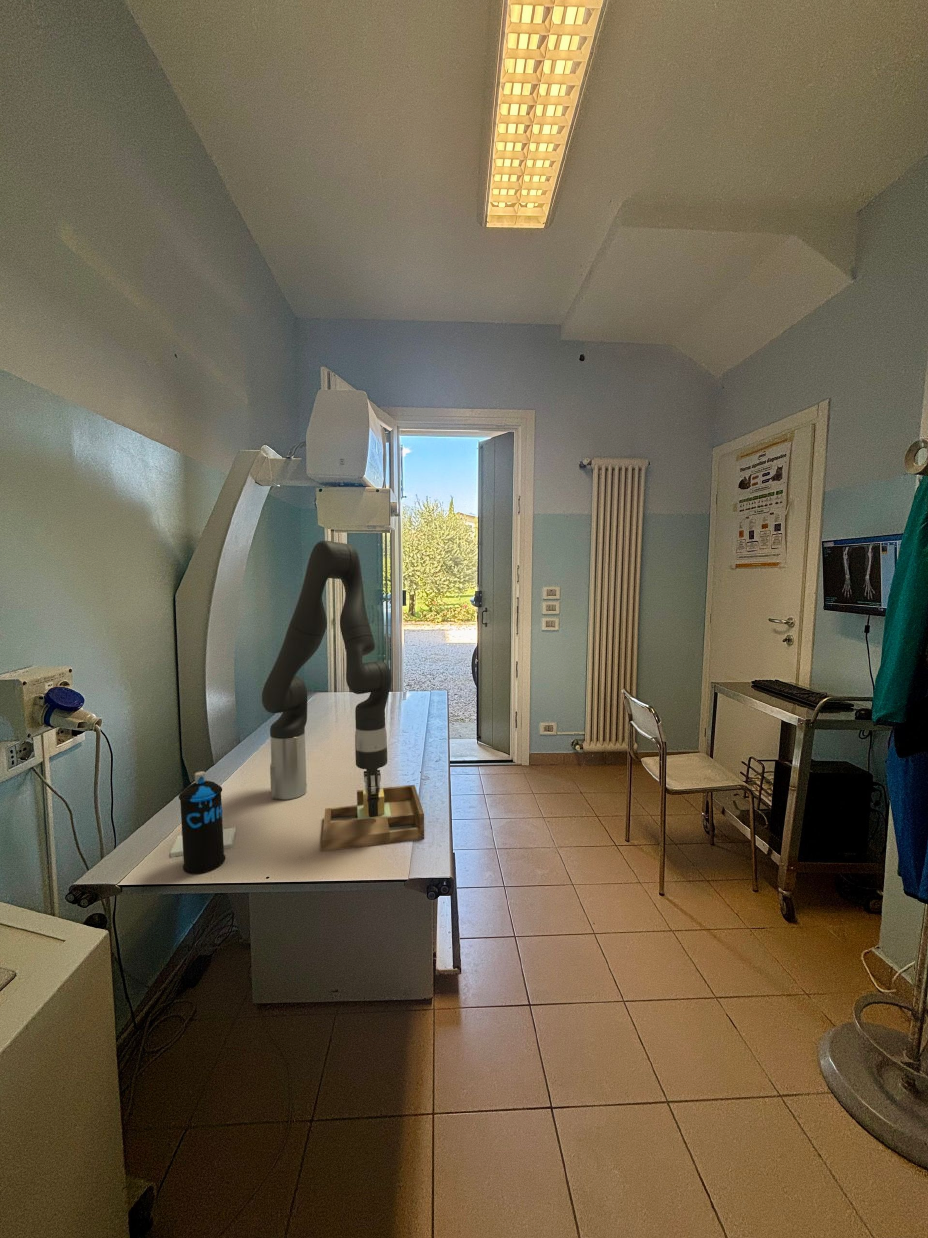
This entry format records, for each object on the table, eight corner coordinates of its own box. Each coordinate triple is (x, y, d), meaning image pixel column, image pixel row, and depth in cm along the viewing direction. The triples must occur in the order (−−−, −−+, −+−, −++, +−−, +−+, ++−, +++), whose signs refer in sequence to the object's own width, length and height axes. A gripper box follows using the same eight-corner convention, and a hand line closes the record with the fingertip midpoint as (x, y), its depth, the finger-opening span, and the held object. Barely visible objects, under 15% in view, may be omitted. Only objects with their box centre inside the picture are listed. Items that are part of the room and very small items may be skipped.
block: (364, 816, 124) (363, 798, 123) (363, 807, 128) (363, 790, 128) (384, 814, 125) (384, 796, 124) (383, 805, 130) (382, 788, 129)
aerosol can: (177, 863, 108) (172, 773, 106) (217, 849, 114) (213, 763, 112) (189, 879, 102) (184, 784, 101) (231, 863, 108) (227, 773, 106)
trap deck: (322, 851, 113) (321, 825, 112) (325, 816, 129) (324, 793, 129) (424, 838, 118) (424, 813, 117) (414, 806, 134) (414, 784, 134)
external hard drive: (178, 841, 118) (236, 832, 122) (170, 859, 111) (231, 850, 114) (178, 834, 118) (236, 826, 122) (169, 852, 110) (231, 843, 114)
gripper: (389, 752, 115) (391, 826, 116) (385, 736, 128) (386, 802, 129) (355, 756, 113) (357, 830, 114) (354, 738, 126) (356, 805, 127)
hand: (373, 815), depth 122 cm, fingers closed
